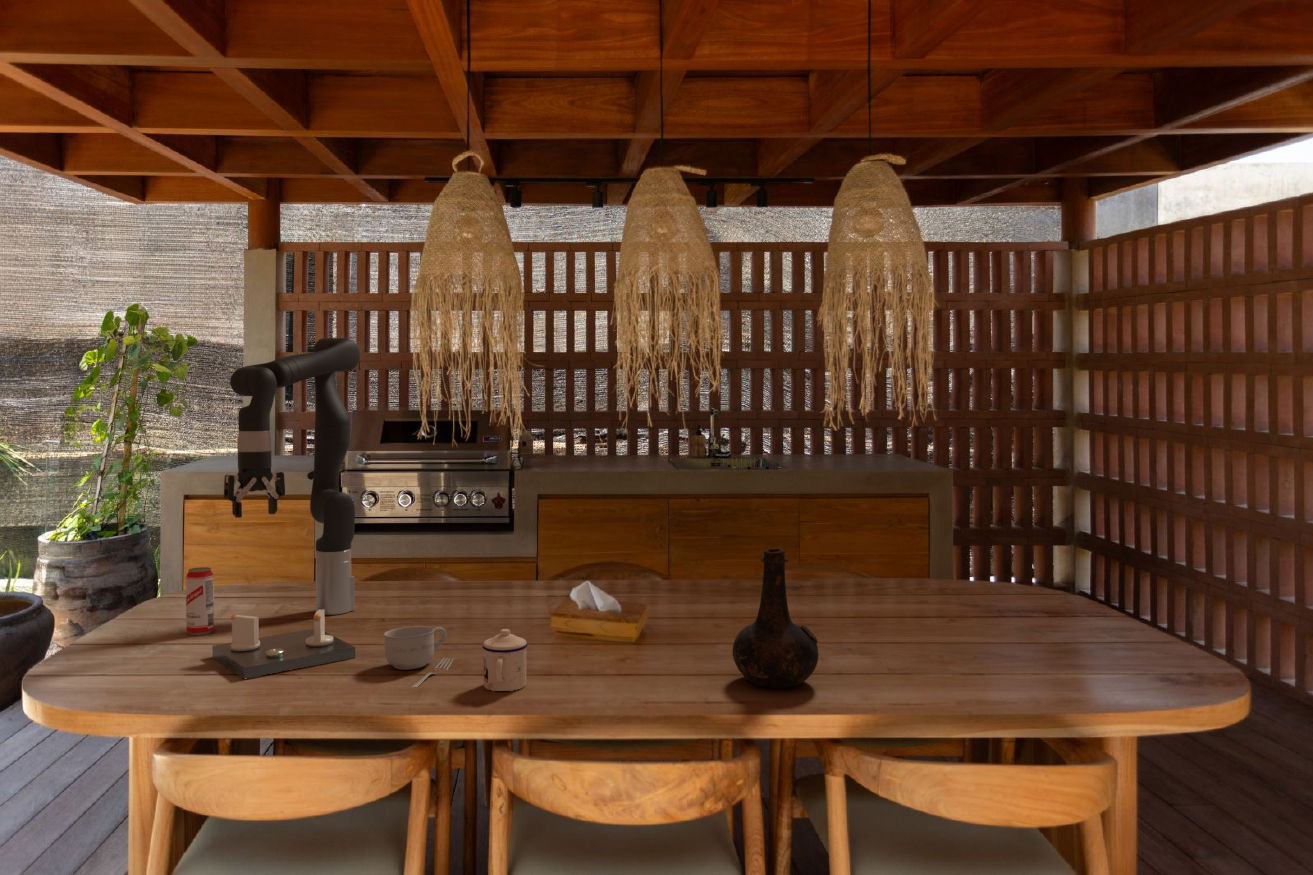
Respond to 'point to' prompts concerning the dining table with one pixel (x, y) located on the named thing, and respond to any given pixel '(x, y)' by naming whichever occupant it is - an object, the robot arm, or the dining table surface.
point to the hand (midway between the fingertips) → (255, 515)
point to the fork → (433, 673)
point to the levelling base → (281, 654)
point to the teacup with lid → (504, 662)
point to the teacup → (412, 646)
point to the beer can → (200, 601)
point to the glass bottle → (775, 635)
